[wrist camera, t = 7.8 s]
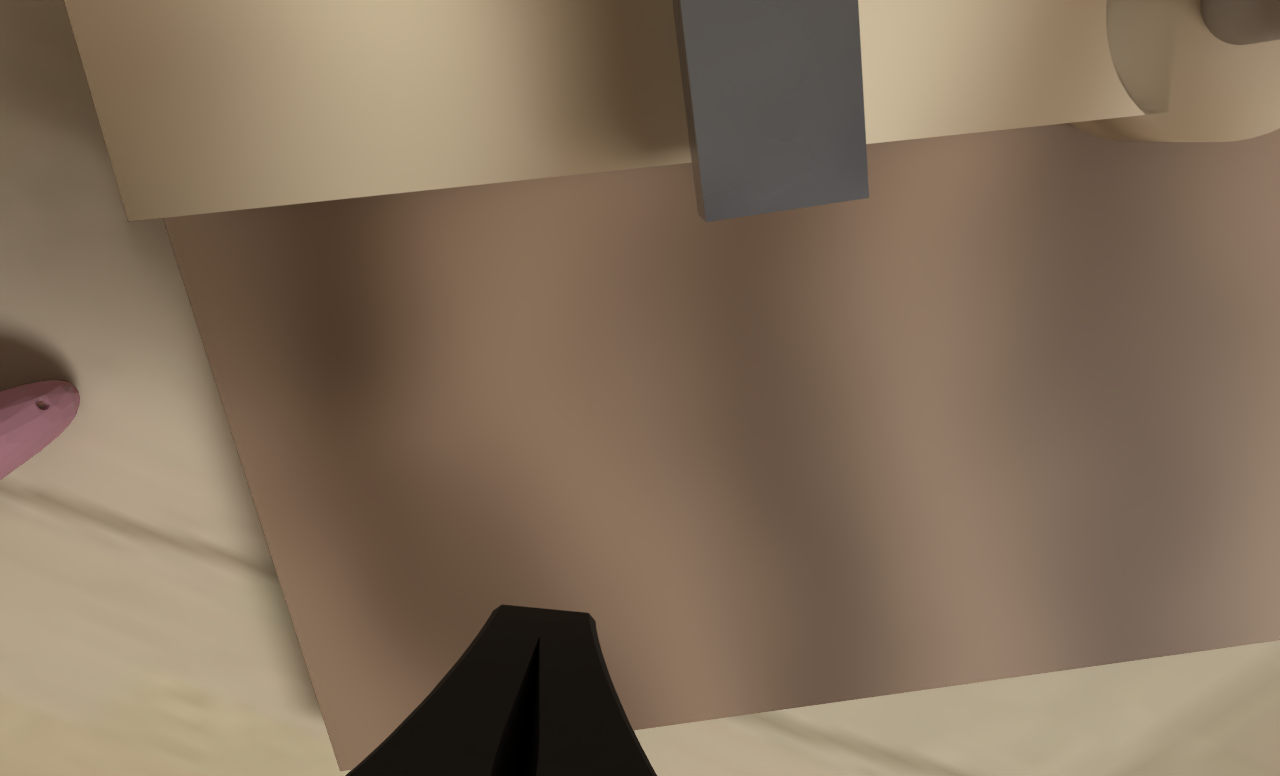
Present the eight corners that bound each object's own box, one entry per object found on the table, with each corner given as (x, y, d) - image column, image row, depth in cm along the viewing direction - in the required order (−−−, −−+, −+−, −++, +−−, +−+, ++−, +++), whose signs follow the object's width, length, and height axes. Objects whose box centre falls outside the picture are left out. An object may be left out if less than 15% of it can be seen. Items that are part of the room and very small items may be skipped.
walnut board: (1458, -773, 11) (1550, -873, 10) (1292, 601, 18) (1337, 631, 17) (-29, -525, 12) (-98, -597, 11) (356, 732, 19) (340, 771, 18)
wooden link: (1287, -139, 12) (1662, -295, 8) (1253, 129, 14) (1562, 124, 9) (144, -18, 12) (-116, -105, 8) (211, 238, 14) (17, 285, 9)
